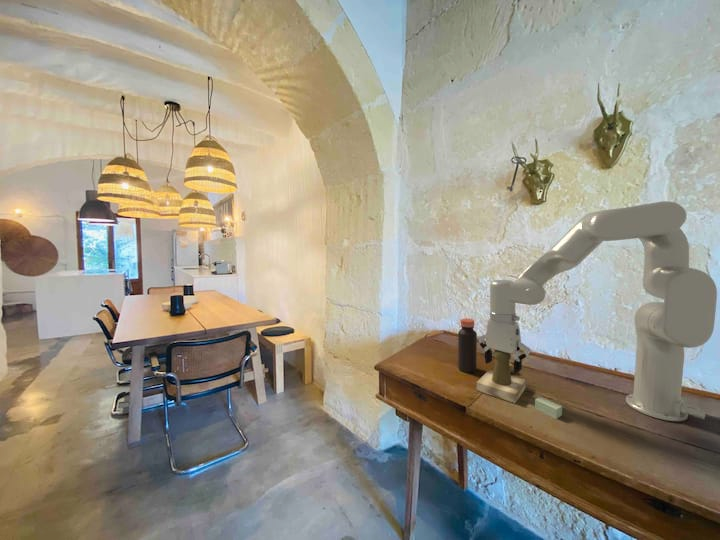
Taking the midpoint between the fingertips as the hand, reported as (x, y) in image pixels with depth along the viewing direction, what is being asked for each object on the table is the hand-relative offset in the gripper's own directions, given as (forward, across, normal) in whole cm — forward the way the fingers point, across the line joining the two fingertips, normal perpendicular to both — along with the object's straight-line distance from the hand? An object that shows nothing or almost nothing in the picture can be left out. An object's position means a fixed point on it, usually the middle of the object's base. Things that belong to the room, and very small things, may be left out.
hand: (502, 366), depth 96 cm
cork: (+5, 0, 0) cm, 5 cm away
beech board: (+8, 0, 0) cm, 8 cm away
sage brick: (+8, -15, +2) cm, 17 cm away
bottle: (+8, +16, -5) cm, 19 cm away
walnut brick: (+8, +6, -14) cm, 17 cm away
